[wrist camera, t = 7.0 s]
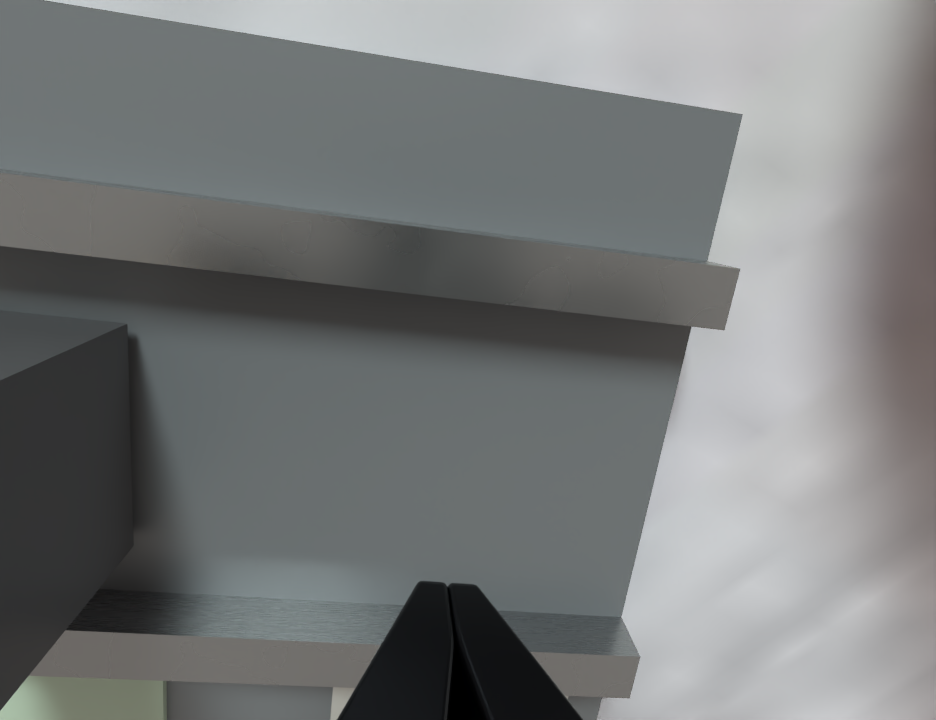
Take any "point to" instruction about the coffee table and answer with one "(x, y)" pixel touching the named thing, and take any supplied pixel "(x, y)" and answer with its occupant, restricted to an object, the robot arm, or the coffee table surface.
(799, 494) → the coffee table surface
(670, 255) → the panel
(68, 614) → the handle
